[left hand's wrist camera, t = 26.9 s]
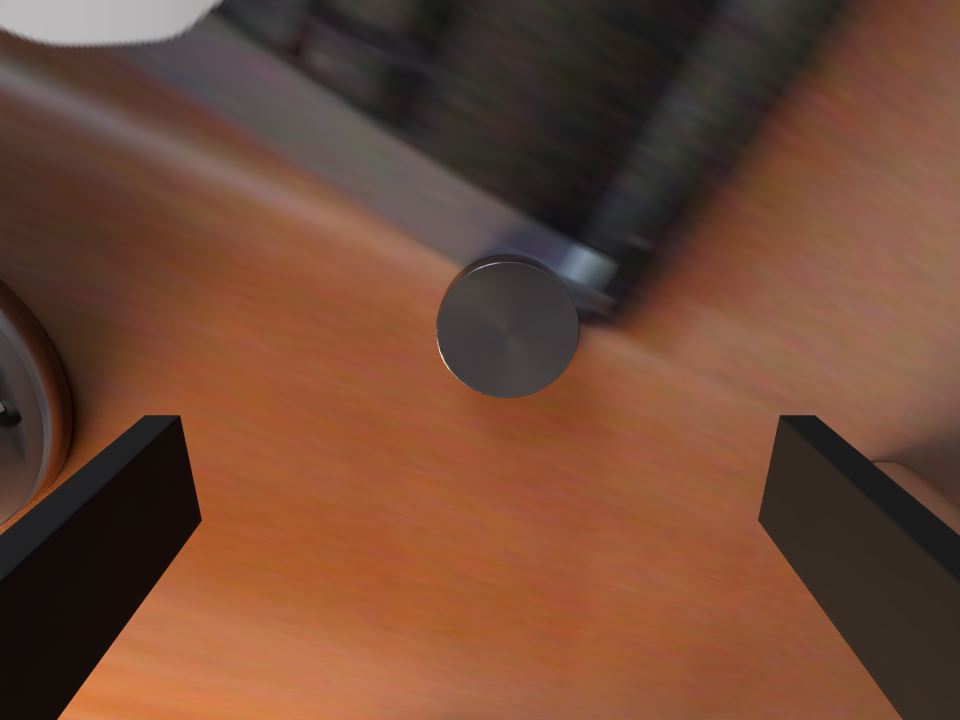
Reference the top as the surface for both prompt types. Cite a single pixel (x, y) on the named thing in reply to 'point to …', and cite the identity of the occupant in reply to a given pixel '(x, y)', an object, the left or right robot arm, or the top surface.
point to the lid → (507, 326)
